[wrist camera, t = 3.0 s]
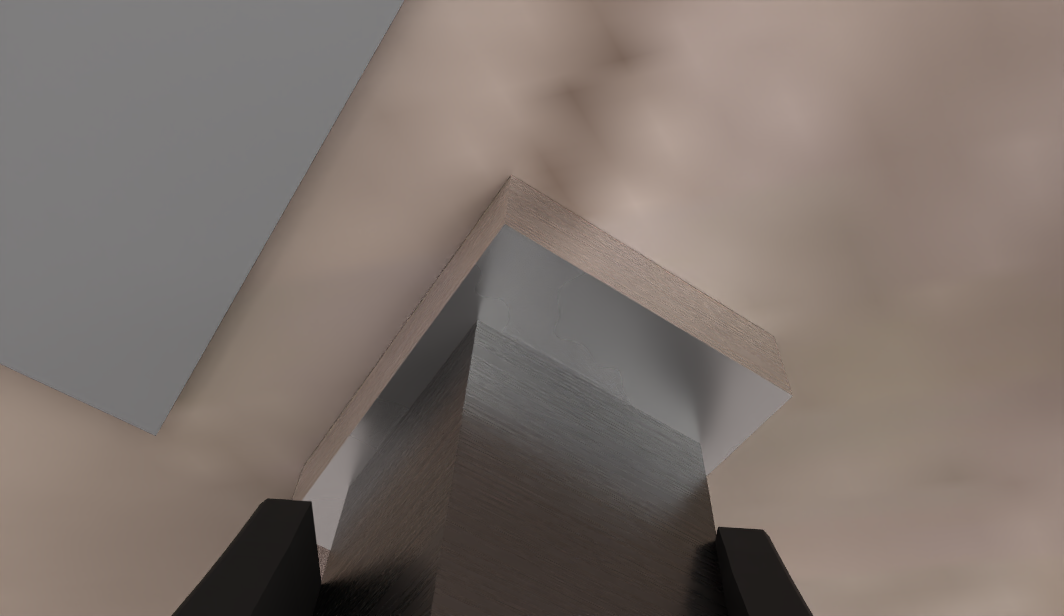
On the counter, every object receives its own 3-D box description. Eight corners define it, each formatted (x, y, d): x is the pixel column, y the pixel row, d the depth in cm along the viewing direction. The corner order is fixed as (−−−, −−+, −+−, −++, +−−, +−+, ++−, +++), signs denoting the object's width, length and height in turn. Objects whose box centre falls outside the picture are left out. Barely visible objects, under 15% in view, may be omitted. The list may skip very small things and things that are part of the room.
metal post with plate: (773, 336, 15) (942, 867, 8) (533, 575, 18) (508, 1090, 11) (511, 174, 13) (446, 653, 7) (303, 466, 17) (119, 979, 10)
